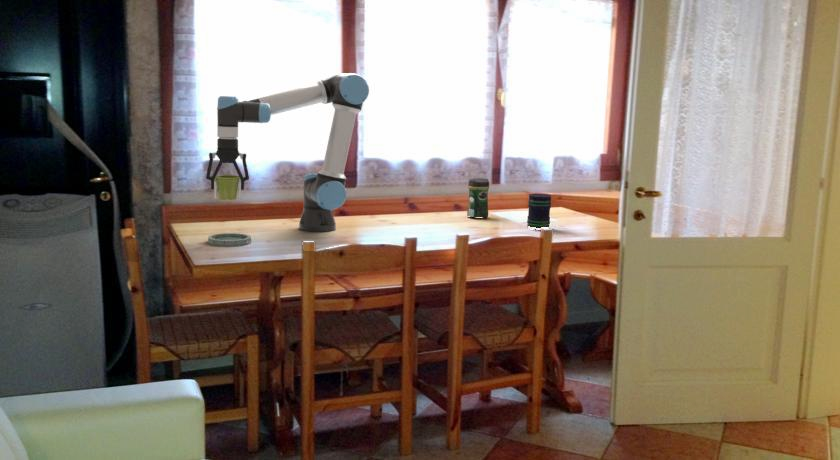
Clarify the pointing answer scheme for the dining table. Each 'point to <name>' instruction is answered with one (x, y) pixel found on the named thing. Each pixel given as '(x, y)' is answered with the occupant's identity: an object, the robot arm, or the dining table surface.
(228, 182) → the plant pot
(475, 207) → the coffee jar
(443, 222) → the dining table surface
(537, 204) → the storage jar
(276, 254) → the dining table surface
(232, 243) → the saucer
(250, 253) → the dining table surface
